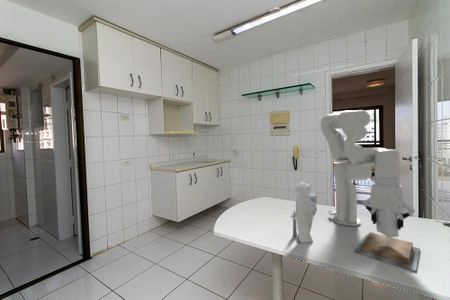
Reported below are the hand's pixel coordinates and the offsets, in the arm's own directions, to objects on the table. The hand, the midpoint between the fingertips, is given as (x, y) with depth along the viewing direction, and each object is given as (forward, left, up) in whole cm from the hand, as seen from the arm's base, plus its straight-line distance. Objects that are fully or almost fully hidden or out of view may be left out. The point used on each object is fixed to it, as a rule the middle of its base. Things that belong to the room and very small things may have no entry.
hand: (386, 225), depth 80 cm
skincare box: (0, 0, -4) cm, 4 cm away
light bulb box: (-43, +23, -11) cm, 50 cm away
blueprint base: (0, 0, -10) cm, 10 cm away
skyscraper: (-28, -12, -11) cm, 32 cm away
